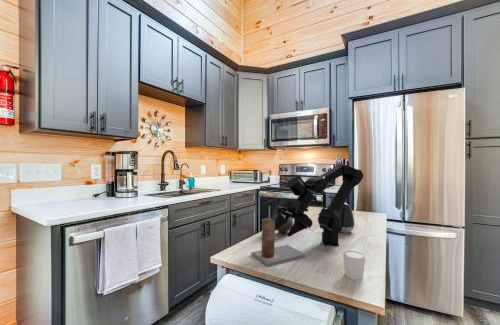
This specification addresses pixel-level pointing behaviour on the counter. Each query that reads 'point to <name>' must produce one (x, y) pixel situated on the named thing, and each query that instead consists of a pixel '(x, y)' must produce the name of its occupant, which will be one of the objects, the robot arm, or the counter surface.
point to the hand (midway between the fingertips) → (280, 232)
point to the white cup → (354, 264)
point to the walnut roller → (268, 237)
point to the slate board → (279, 255)
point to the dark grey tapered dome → (346, 218)
